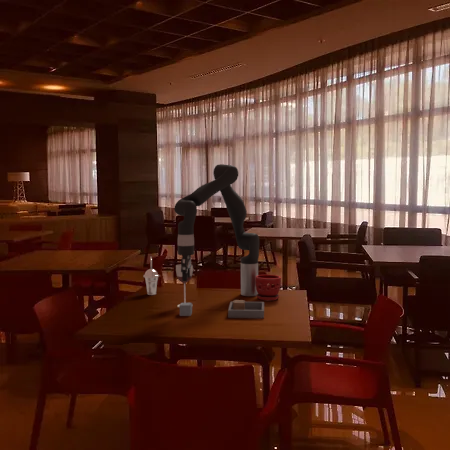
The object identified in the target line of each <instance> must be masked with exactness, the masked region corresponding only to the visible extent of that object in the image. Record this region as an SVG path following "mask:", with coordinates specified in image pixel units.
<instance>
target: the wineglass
mask: <svg viewBox="0 0 450 450" xmlns="http://www.w3.org/2000/svg"><path fill="white" fill-rule="evenodd" d="M190 268H191V269H189V270H190V277H189V278H187V281H182V272H181V263H180V264H177V265H175V272H176V278H177V279H178V281H180V282H181V283H182V284H183V303H187V301H186V300H187V299H186V298H187V297H186V295H187V294H186V292H187V291H186V283H189V281H191V279H192V277H193V268H194V265H193V264H191V267H190ZM183 270H185V269H183ZM180 304H181V303H180ZM180 304H177V308H180ZM192 307H193V304H192Z"/></svg>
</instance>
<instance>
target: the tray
mask: <svg viewBox="0 0 450 450" xmlns="http://www.w3.org/2000/svg"><path fill="white" fill-rule="evenodd" d="M233 302H234V301H230V302H229V305H228V310H227V313H228V314H227V318H228V319H264V318H265V302H264V301H245V310H233Z"/></svg>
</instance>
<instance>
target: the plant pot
mask: <svg viewBox="0 0 450 450" xmlns="http://www.w3.org/2000/svg"><path fill="white" fill-rule="evenodd" d="M255 281H256V290H257V292H258V294H257V295H256V298H257V299H258V300H261V301H265V302H268V301H272V302H273V301H276V300H278V299H279V298H280V294H279V292H280V290H281V284H282V277H281V276H280V275H275V274H258V275H257V276H256V279H255Z"/></svg>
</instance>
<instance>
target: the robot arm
mask: <svg viewBox="0 0 450 450" xmlns="http://www.w3.org/2000/svg"><path fill="white" fill-rule="evenodd" d="M212 173H213V177H214V178H213V179H214V180H210V181H209V182H207V183H204V184H202V185H200V186H199V187H197V188H196V189H195V190H194V191H192V192H191V193H190V194H187V195H186V196H184V197H182V198H180V199H179V200H178V201H177V202H176V203H175V205H174V213H175V214H176V215H178V216H182V217H183V220H181V221H179V222H178V224H177V255H179V256H182V258H181V259H180V264H181V272H182V281H187V278H189V277H190V270H189V269H191V268H190V267H191V265H192V256H193V255H195V237H194V236H195V235H194V232H195V231H194V225H195V221H196V216H197V212H198V207H200V206H202V205H203V204H204V203H206V201H208V200H209V199H210V198H212V197H213V196H214V195H216V194H217V193H219V192H220V194H221V196H222V198H223V201H224V204H225V208H226V210H227V213H228V216H229V218H230V222H231V225H232V228H233V231H234V235H235V240H236V244H237V246H238V248H239V249H240V250H242V251H248V254H247V255H245V256H242V257H240V295H241V296H243V297H244V296H245V297H257V294H258V292H257V290H256V281H255V279H256V276H257V275H259V256H260V236H259V235H258V233H253V232H246V231H245V229H244V224H245V220H246V218H247V213H248V212H247V208H246V204H245V203H244V200H243V198H242V197H241V195H239V194H238V192H236V190H235V189H234V188H233V187H232V184H234V183H236V181H237V180H238V178H239V170H238V167H237V166H235V165H232V164H223V163H222V164H217V165H215V166H214V169H213V172H212ZM183 269H185V270H183Z"/></svg>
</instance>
